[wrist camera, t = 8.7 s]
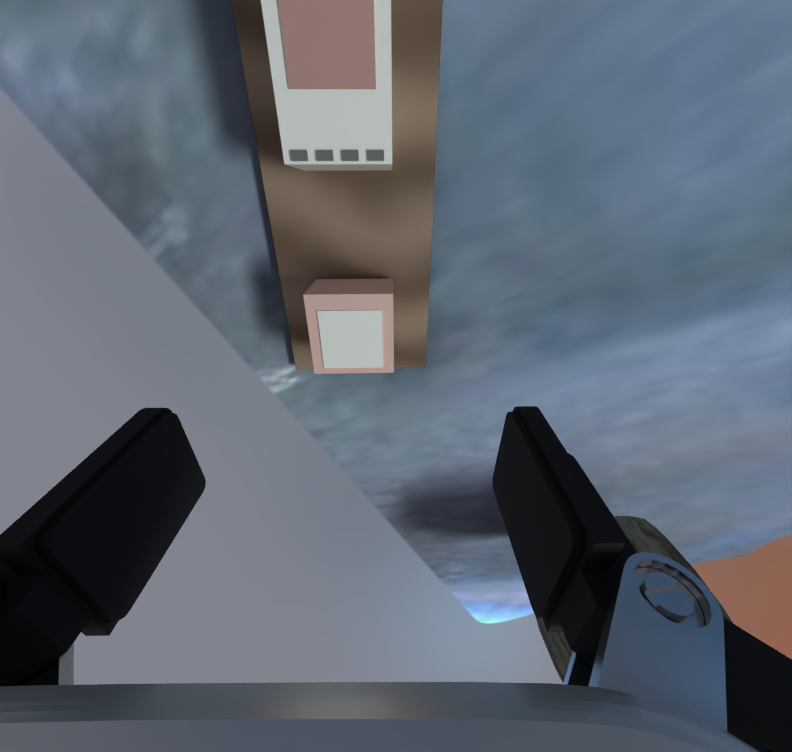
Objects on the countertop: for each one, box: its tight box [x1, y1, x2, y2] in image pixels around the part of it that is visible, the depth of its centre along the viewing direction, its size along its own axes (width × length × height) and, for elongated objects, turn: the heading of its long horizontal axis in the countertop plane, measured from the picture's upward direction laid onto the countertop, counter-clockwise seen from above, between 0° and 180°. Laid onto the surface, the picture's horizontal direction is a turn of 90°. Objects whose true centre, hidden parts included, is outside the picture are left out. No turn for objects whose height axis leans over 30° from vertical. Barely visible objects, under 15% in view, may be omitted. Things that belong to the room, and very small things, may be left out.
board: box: [231, 0, 443, 369], centre depth 22 cm, size 32×12×1 cm, turn 0°
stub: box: [303, 279, 394, 374], centre depth 25 cm, size 6×6×5 cm
